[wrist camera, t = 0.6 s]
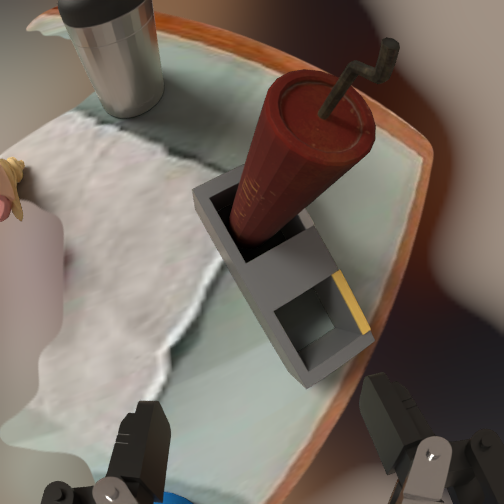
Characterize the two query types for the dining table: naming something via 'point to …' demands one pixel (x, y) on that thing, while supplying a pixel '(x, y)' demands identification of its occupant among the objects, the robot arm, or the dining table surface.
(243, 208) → the firecracker
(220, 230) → the socket block
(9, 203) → the pink and yellow lump
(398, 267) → the dining table surface
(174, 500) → the thermos
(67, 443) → the dining table surface
